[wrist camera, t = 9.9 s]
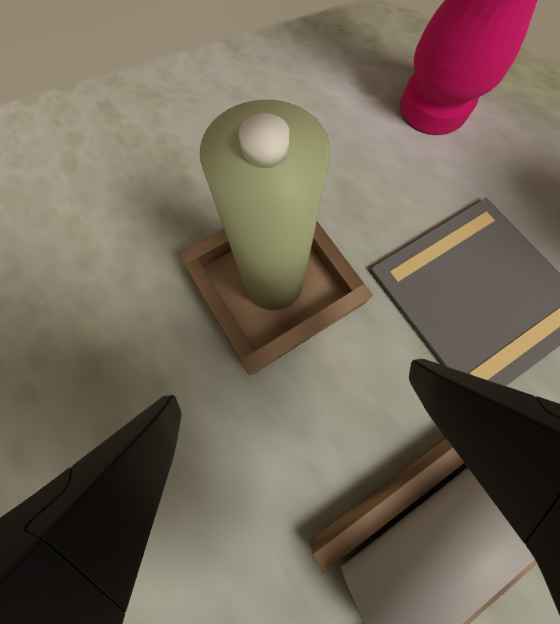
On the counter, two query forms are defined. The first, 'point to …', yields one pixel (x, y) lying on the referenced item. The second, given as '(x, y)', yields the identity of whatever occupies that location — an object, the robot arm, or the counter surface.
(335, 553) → the cradle
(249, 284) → the green tapered post
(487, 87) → the pepper mill
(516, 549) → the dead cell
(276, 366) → the counter surface
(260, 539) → the counter surface
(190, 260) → the tray
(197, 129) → the counter surface
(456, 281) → the mat
